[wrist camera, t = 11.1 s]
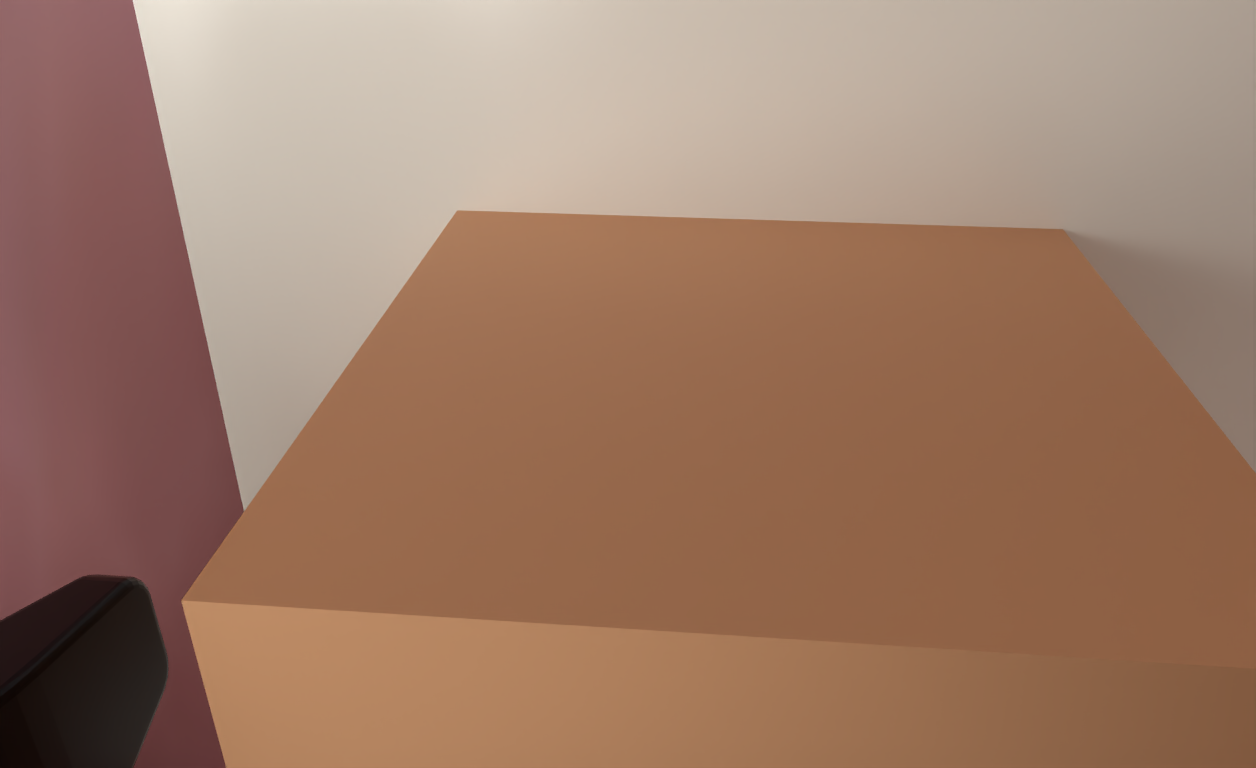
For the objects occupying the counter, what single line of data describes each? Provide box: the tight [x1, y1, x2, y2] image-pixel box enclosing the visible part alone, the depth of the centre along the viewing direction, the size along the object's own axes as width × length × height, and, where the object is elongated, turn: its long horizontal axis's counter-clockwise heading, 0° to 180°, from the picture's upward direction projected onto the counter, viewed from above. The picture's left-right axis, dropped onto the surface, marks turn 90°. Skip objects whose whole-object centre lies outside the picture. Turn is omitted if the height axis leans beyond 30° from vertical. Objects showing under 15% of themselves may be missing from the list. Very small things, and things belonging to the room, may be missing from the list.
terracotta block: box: [181, 210, 1256, 768], centre depth 8 cm, size 5×5×5 cm
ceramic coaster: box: [133, 0, 1256, 511], centre depth 10 cm, size 10×10×1 cm
